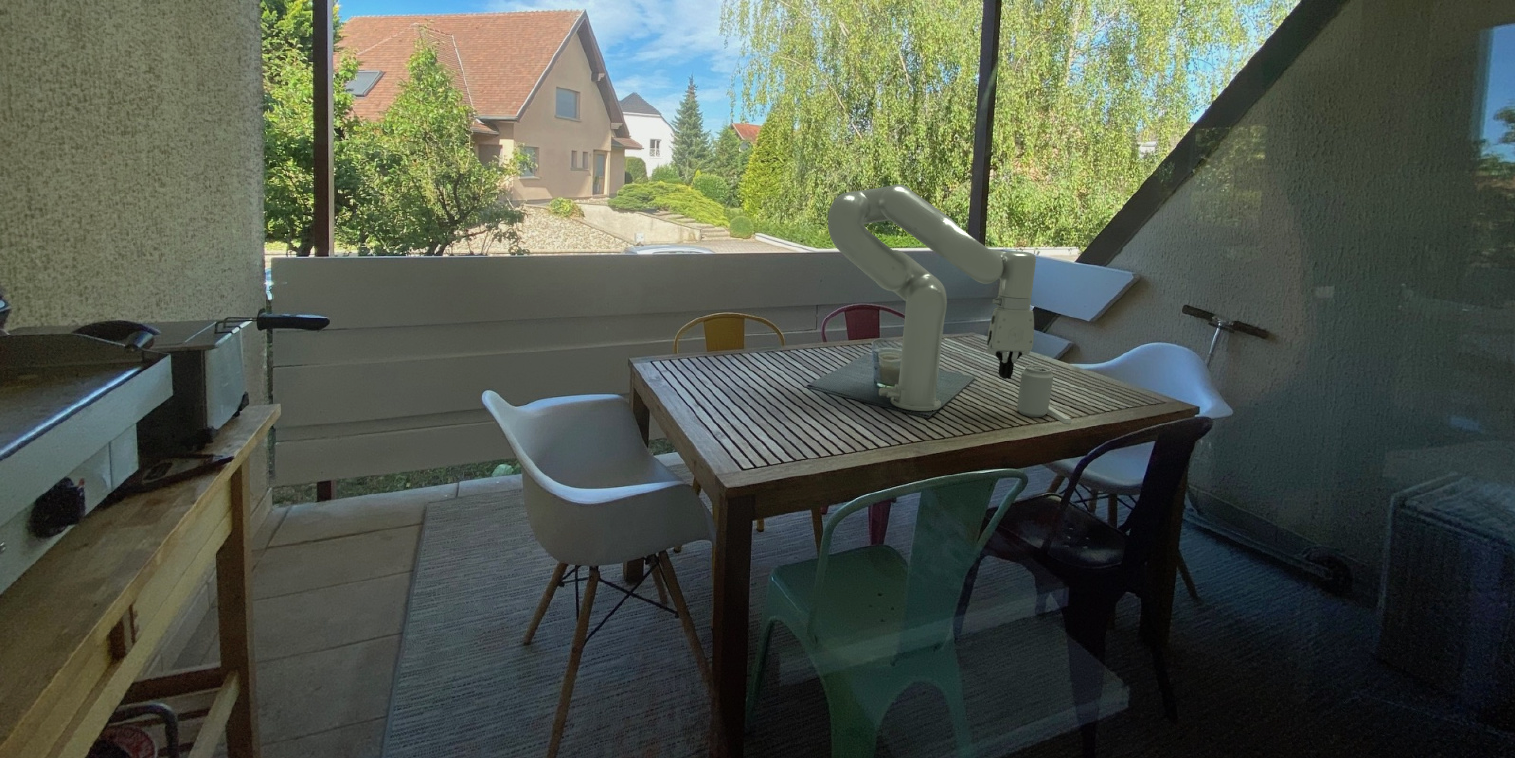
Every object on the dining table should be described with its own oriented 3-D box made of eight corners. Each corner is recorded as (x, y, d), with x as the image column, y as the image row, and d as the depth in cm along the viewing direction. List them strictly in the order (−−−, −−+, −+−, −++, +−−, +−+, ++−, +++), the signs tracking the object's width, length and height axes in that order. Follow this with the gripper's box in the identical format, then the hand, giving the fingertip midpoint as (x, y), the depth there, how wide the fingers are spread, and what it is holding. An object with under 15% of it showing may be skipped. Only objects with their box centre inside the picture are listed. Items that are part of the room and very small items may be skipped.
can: (1049, 419, 189) (1056, 372, 186) (1017, 416, 191) (1024, 369, 188) (1045, 410, 197) (1052, 365, 193) (1014, 407, 198) (1020, 362, 195)
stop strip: (1064, 423, 187) (1065, 418, 186) (1029, 401, 204) (1029, 397, 204) (1070, 423, 187) (1071, 418, 187) (1035, 401, 204) (1035, 397, 204)
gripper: (990, 306, 181) (982, 381, 185) (1050, 306, 183) (1040, 381, 187) (977, 300, 188) (970, 373, 193) (1035, 301, 190) (1026, 373, 195)
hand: (1005, 377), depth 190 cm, fingers closed
